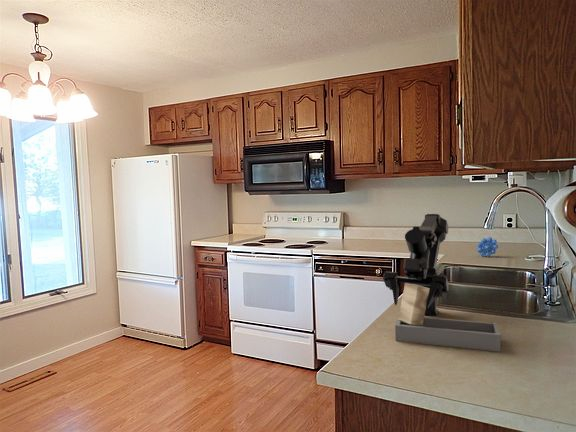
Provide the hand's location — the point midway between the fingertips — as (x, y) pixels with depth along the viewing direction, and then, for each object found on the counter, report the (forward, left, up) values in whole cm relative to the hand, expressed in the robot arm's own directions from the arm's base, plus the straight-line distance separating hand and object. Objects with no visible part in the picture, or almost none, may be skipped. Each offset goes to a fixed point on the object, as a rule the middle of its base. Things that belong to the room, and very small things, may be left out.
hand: (410, 306), depth 123 cm
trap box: (+1, +10, -9) cm, 13 cm away
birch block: (0, 0, -5) cm, 5 cm away
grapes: (-146, +30, -9) cm, 150 cm away
